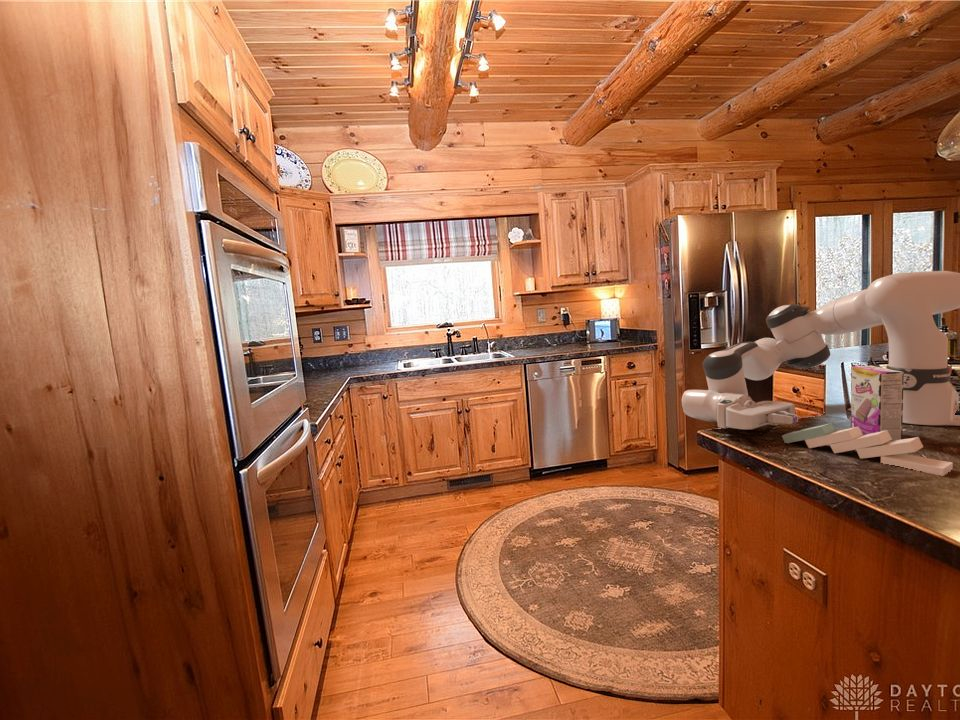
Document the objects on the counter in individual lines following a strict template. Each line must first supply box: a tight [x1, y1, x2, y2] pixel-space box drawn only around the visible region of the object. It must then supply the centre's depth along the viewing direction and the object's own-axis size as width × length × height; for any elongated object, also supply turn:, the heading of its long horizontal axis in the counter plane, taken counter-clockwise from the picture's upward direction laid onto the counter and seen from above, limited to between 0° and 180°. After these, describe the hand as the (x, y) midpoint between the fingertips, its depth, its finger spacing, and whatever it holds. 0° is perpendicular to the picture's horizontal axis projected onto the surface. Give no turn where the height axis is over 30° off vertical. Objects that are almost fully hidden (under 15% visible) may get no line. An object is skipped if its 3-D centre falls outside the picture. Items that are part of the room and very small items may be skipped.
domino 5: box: [880, 453, 954, 477], centre depth 87 cm, size 5×2×9 cm
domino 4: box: [855, 436, 924, 460], centre depth 90 cm, size 5×2×9 cm
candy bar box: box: [850, 365, 904, 441], centre depth 106 cm, size 11×5×16 cm, turn 168°
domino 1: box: [781, 422, 837, 444], centre depth 103 cm, size 5×2×9 cm
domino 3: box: [829, 430, 892, 455], centre depth 94 cm, size 5×2×9 cm
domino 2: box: [804, 426, 864, 449], centre depth 99 cm, size 5×2×9 cm
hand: (794, 419), depth 105 cm, fingers closed
